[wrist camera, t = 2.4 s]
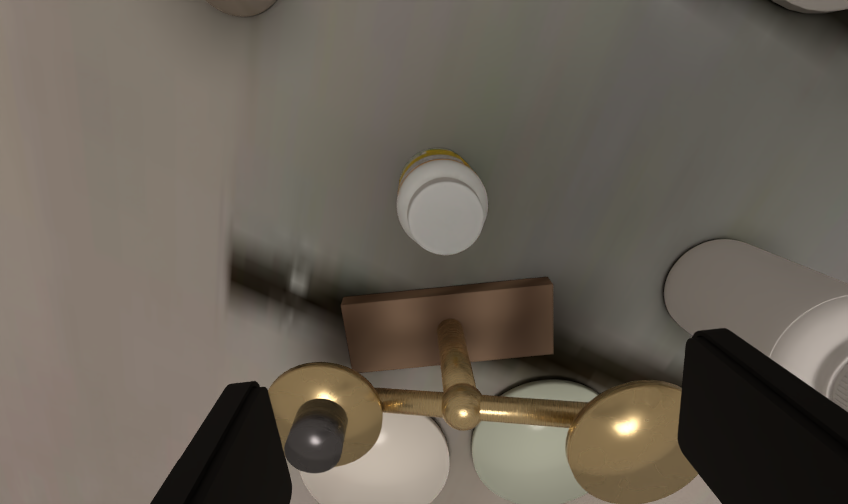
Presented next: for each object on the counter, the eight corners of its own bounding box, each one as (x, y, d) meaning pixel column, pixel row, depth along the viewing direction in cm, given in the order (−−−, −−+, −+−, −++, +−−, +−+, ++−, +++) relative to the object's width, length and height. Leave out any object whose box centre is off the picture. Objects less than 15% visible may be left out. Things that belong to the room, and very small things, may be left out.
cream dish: (442, 385, 37) (443, 395, 36) (453, 501, 42) (455, 515, 40) (289, 400, 38) (285, 411, 36) (316, 514, 42) (313, 528, 40)
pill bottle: (776, 293, 35) (1020, 420, 21) (685, 345, 37) (857, 498, 23) (738, 215, 33) (981, 299, 19) (643, 274, 35) (804, 393, 20)
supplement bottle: (401, 145, 31) (396, 163, 22) (476, 149, 31) (503, 169, 22) (397, 219, 33) (392, 264, 24) (469, 223, 33) (491, 269, 24)
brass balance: (594, 266, 34) (722, 380, 20) (592, 344, 37) (706, 497, 22) (295, 295, 34) (214, 430, 20) (311, 372, 37) (248, 541, 23)
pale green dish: (618, 368, 37) (626, 377, 36) (612, 486, 42) (619, 499, 40) (465, 383, 37) (467, 393, 36) (474, 499, 42) (476, 512, 40)
